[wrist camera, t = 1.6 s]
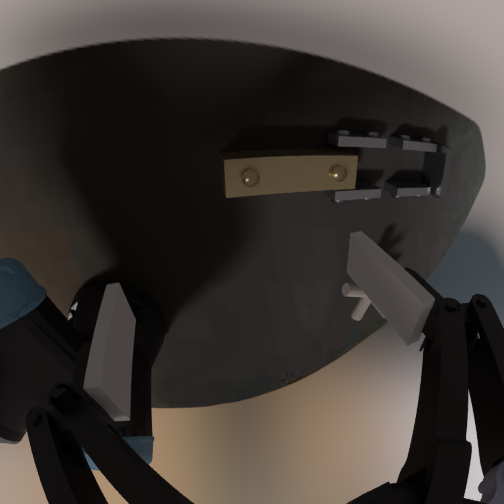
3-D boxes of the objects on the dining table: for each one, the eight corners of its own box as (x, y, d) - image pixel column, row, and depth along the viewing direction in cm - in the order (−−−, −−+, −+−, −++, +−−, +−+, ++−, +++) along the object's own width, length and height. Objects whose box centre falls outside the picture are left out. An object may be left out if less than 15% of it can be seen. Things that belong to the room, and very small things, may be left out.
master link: (221, 185, 32) (226, 200, 28) (219, 152, 30) (224, 161, 26) (337, 177, 35) (357, 190, 31) (339, 148, 33) (360, 157, 29)
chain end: (323, 197, 36) (334, 205, 33) (326, 127, 31) (338, 131, 28) (367, 194, 37) (379, 201, 34) (373, 130, 32) (386, 134, 30)
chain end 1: (383, 193, 37) (402, 204, 34) (390, 131, 33) (411, 138, 29) (425, 191, 39) (443, 202, 35) (432, 137, 34) (453, 144, 30)
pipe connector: (343, 241, 40) (380, 280, 32) (388, 251, 43) (425, 285, 35) (317, 295, 44) (345, 340, 36) (363, 299, 48) (392, 337, 39)
